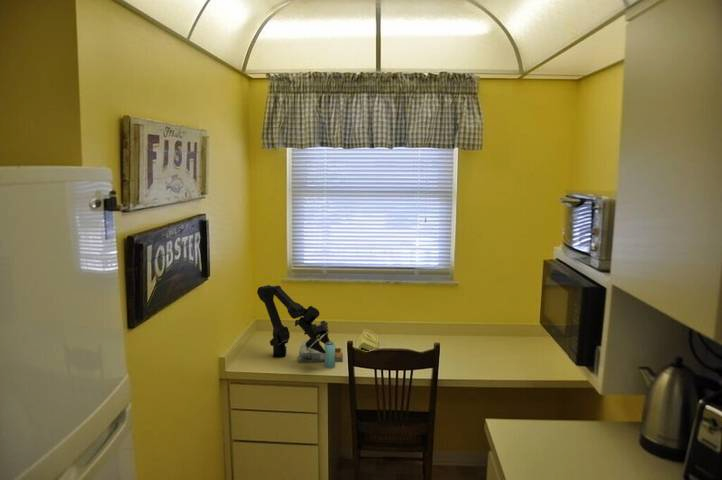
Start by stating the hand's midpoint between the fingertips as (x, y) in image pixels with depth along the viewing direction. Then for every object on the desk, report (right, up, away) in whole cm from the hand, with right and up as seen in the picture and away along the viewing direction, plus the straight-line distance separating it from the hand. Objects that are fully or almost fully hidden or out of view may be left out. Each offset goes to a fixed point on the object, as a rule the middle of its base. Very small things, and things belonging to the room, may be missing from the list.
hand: (328, 350), depth 261 cm
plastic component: (+21, -5, +30) cm, 37 cm away
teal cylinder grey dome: (+1, -8, +1) cm, 8 cm away
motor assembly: (-5, -7, +12) cm, 14 cm away
